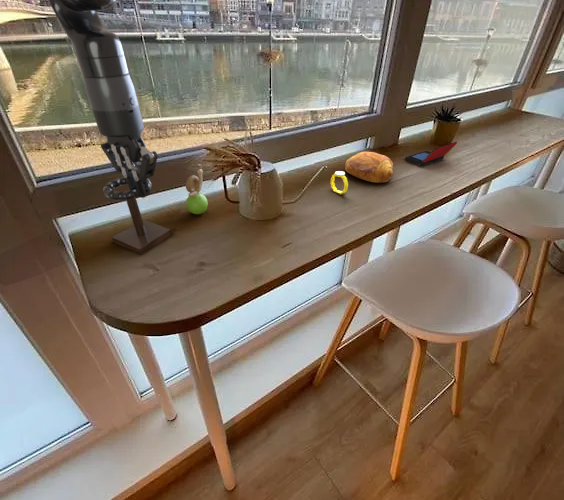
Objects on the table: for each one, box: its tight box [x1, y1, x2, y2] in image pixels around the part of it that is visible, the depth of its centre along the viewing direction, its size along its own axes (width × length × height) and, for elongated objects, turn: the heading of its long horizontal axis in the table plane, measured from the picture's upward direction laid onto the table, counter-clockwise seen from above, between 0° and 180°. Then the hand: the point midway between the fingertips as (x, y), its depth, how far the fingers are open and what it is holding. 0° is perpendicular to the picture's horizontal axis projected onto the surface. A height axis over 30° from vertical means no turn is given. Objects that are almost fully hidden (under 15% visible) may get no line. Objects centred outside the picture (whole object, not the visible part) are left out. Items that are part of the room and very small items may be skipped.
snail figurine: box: [185, 163, 209, 215], centre depth 81 cm, size 5×6×12 cm
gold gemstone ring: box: [329, 170, 349, 195], centre depth 92 cm, size 6×3×6 cm, turn 35°
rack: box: [111, 197, 172, 255], centre depth 72 cm, size 9×9×12 cm
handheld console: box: [404, 141, 458, 167], centre depth 111 cm, size 12×11×7 cm
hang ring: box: [102, 176, 153, 201], centre depth 67 cm, size 9×9×2 cm
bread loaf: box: [344, 150, 394, 183], centre depth 102 cm, size 14×16×8 cm
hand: (141, 194), depth 66 cm, fingers closed on hang ring, 1 cm apart
